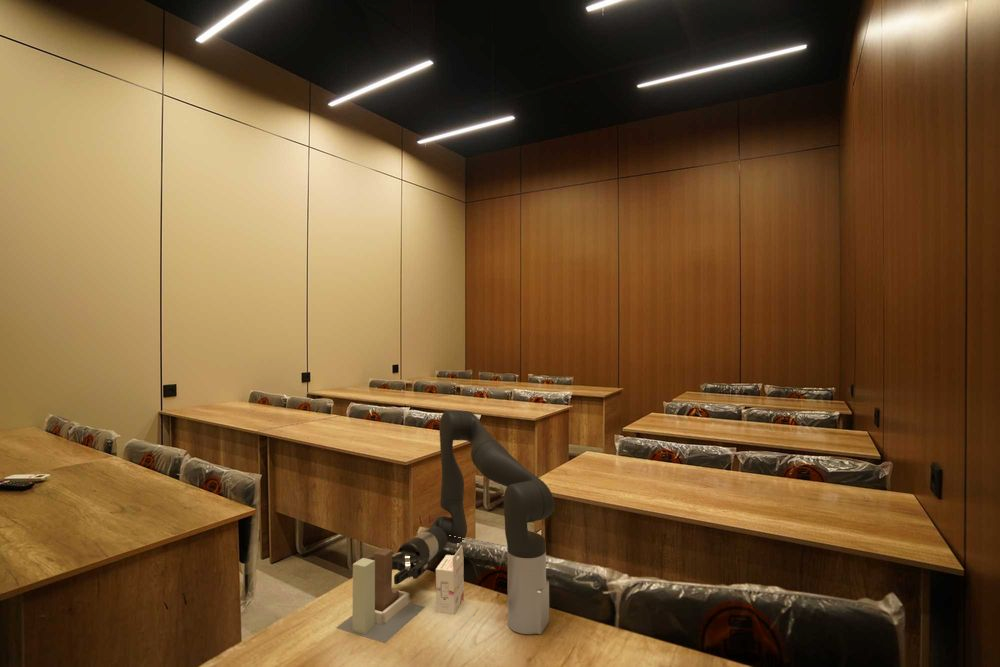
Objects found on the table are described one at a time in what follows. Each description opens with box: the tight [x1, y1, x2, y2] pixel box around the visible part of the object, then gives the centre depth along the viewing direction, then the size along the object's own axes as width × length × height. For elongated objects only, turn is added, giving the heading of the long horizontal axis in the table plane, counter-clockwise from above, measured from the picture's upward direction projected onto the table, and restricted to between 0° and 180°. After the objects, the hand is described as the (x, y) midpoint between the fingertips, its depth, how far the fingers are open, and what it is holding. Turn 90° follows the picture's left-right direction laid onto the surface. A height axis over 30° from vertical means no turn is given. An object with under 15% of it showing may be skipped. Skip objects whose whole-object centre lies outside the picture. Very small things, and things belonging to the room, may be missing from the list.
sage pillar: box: [352, 557, 375, 634], centre depth 110 cm, size 4×4×15 cm
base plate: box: [335, 589, 426, 644], centre depth 114 cm, size 14×16×4 cm
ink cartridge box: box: [435, 544, 465, 615], centre depth 120 cm, size 9×5×15 cm, turn 168°
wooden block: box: [373, 547, 399, 612], centre depth 117 cm, size 7×3×15 cm, turn 160°
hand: (380, 576), depth 116 cm, fingers open, 8 cm apart
